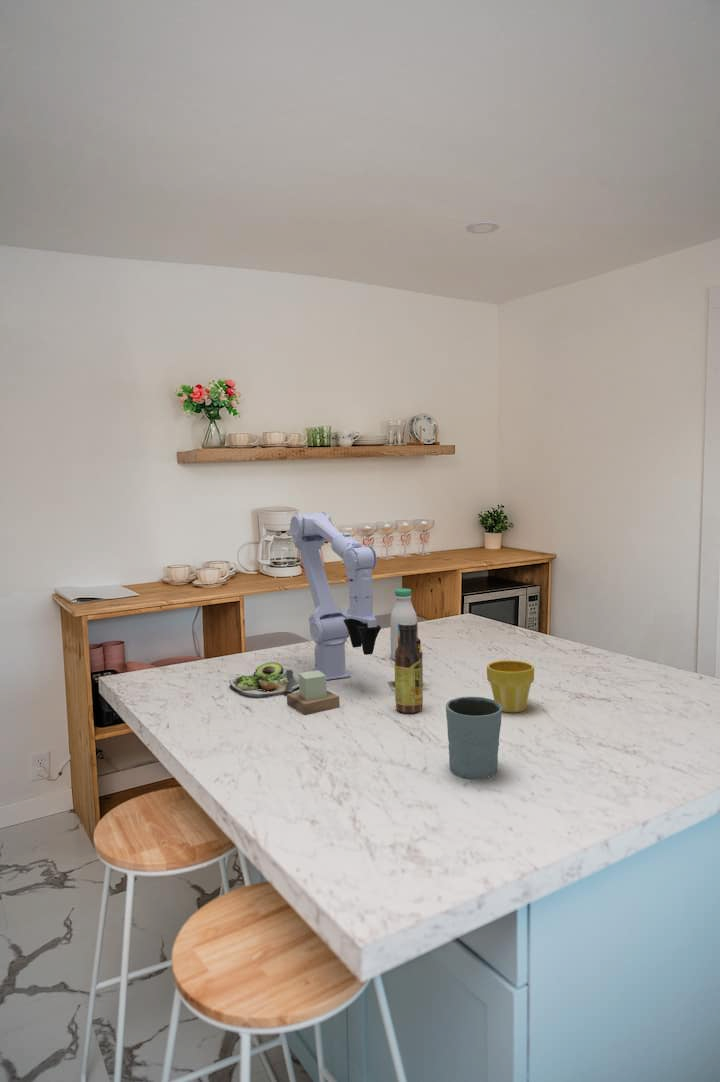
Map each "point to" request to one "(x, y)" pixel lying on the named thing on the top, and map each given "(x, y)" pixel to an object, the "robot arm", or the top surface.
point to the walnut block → (312, 703)
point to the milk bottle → (401, 616)
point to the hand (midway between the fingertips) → (362, 650)
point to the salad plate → (266, 681)
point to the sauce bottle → (408, 671)
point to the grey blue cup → (473, 736)
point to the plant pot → (510, 683)
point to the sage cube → (312, 685)
